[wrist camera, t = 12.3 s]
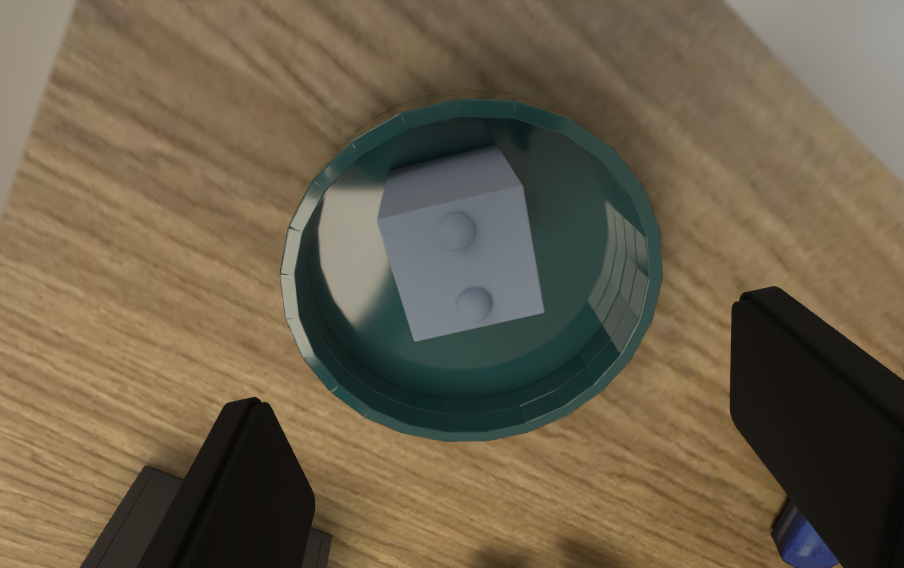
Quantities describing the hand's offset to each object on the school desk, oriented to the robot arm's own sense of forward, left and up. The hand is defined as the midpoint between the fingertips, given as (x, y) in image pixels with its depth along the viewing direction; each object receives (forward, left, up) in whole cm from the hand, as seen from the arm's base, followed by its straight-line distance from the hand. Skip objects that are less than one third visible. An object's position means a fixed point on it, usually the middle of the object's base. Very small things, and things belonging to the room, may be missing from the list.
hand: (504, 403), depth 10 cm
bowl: (+3, 0, -13) cm, 13 cm away
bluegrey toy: (0, 0, -13) cm, 13 cm away
